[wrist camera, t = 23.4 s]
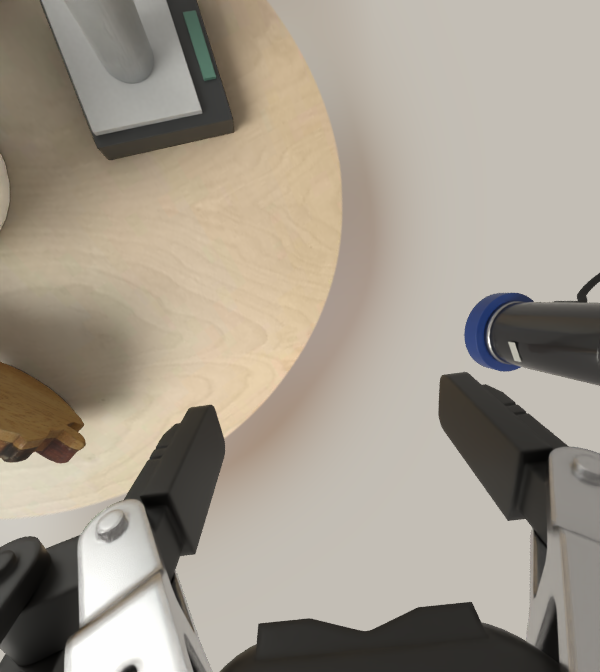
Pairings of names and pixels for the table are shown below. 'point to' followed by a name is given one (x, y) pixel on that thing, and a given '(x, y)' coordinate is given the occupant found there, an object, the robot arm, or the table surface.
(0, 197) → the bowl
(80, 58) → the scale
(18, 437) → the wooden carving
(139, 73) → the planter
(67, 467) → the table surface
